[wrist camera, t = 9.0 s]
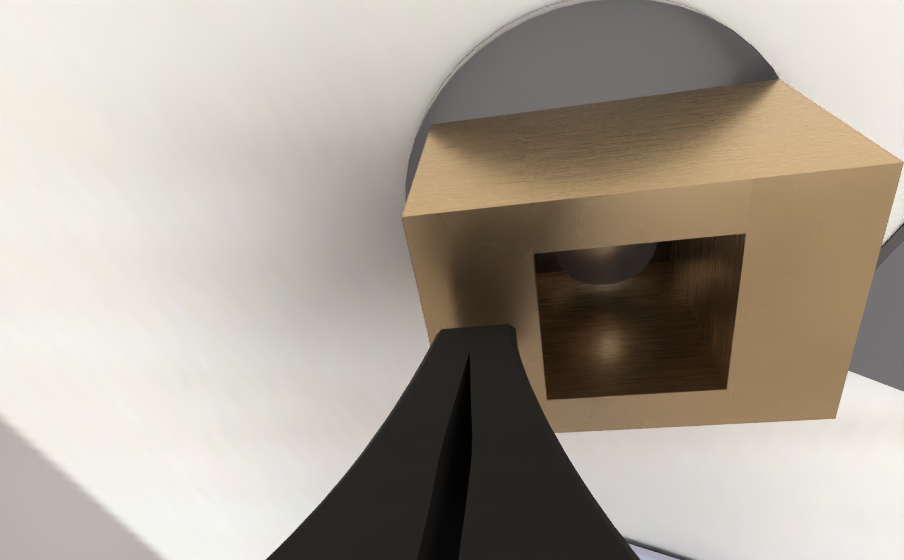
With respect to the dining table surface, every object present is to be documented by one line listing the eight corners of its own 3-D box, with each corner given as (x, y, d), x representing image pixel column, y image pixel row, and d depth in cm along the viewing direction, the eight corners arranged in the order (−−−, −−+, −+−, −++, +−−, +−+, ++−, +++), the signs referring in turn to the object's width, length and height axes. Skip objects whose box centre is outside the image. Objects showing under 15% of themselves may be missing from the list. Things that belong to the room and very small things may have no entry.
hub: (654, 378, 19) (673, 438, 17) (365, 275, 18) (346, 326, 16) (880, 94, 14) (949, 130, 12) (495, -83, 13) (493, -79, 11)
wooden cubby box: (750, 284, 16) (835, 418, 12) (464, 308, 17) (451, 438, 13) (778, 78, 13) (903, 162, 9) (431, 124, 14) (401, 217, 10)
